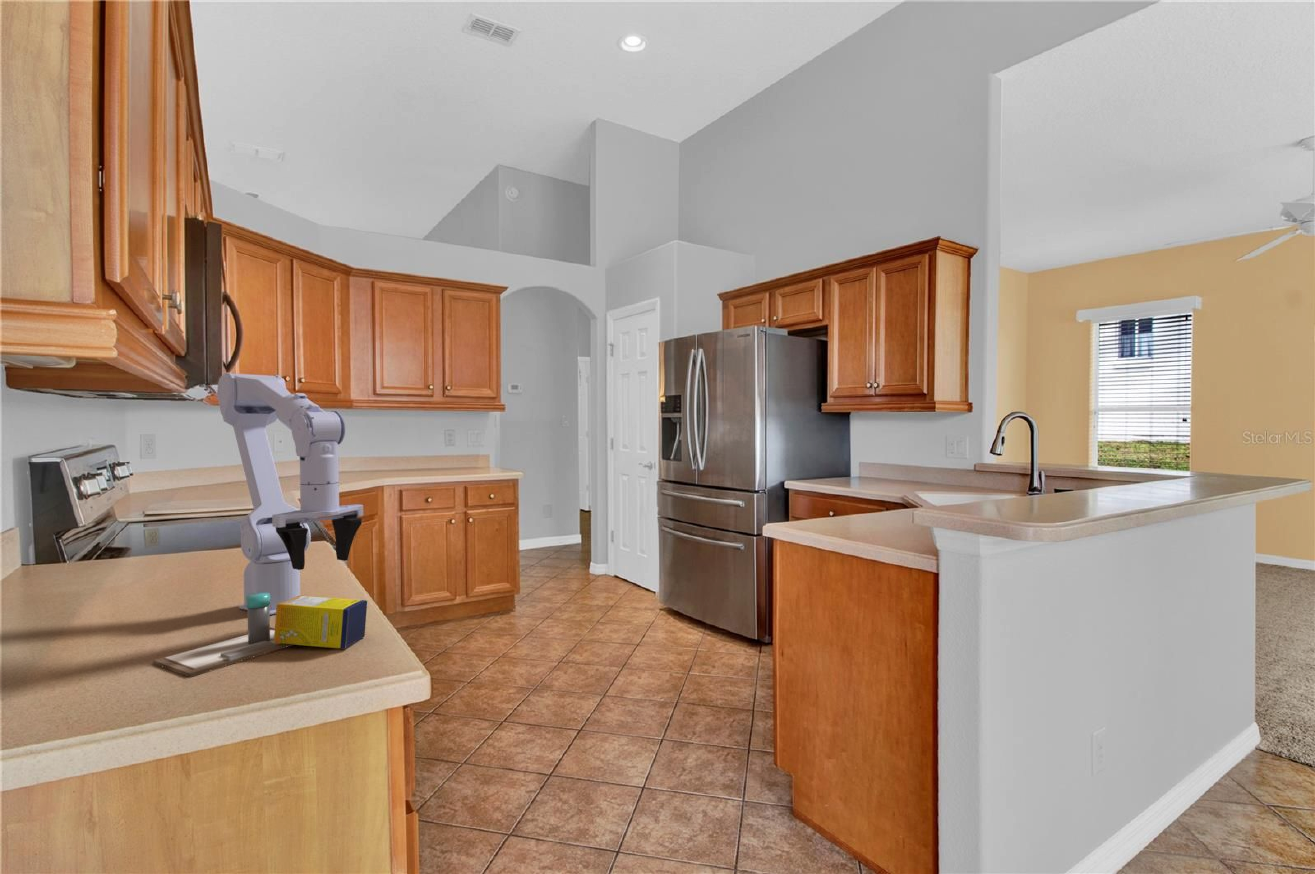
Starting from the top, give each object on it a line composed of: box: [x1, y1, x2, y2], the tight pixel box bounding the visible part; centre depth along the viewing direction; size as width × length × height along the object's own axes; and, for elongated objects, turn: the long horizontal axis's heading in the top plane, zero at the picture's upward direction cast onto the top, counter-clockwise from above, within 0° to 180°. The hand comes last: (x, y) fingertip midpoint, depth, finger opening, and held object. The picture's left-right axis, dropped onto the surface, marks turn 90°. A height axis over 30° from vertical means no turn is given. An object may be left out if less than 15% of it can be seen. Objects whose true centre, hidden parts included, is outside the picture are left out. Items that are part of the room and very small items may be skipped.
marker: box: [246, 593, 271, 645], centre depth 95 cm, size 3×3×7 cm
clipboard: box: [152, 626, 294, 678], centre depth 93 cm, size 10×16×1 cm, turn 151°
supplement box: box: [274, 594, 368, 650], centre depth 96 cm, size 6×6×11 cm
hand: (321, 564), depth 106 cm, fingers open, 7 cm apart
